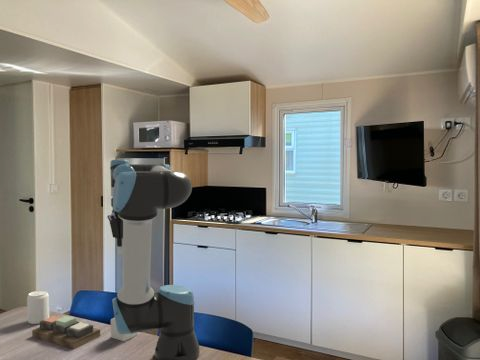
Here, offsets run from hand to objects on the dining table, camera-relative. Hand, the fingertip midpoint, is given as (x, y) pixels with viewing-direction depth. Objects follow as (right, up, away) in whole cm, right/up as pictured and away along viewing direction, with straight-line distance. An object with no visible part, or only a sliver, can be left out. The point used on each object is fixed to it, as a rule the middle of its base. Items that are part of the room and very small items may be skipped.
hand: (121, 253), depth 166 cm
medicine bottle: (+5, -29, -14) cm, 33 cm away
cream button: (-11, -26, -17) cm, 33 cm away
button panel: (-17, -29, -13) cm, 36 cm away
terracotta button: (-24, -26, -10) cm, 37 cm away
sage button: (-17, -25, -13) cm, 33 cm away
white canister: (-35, -29, +2) cm, 46 cm away
